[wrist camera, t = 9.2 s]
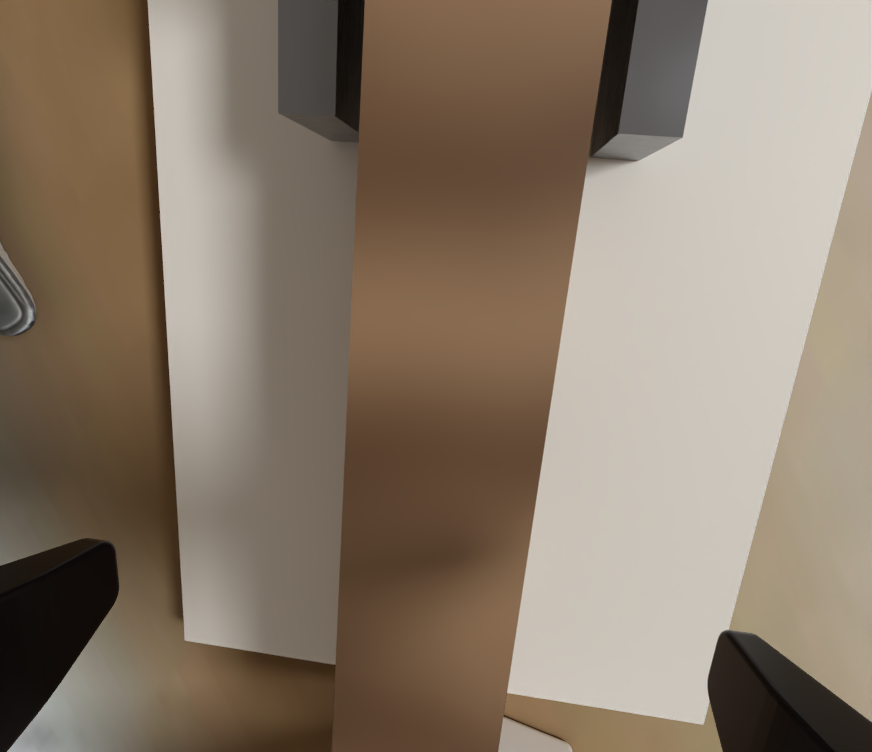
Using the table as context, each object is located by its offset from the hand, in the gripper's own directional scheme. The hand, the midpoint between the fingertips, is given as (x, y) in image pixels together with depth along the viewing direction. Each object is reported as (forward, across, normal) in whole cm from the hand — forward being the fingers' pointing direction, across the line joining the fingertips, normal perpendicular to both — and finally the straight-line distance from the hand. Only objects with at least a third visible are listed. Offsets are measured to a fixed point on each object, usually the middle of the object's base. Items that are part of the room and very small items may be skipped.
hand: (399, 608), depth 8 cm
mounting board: (+10, 0, -2) cm, 10 cm away
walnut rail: (+8, 0, 0) cm, 8 cm away
